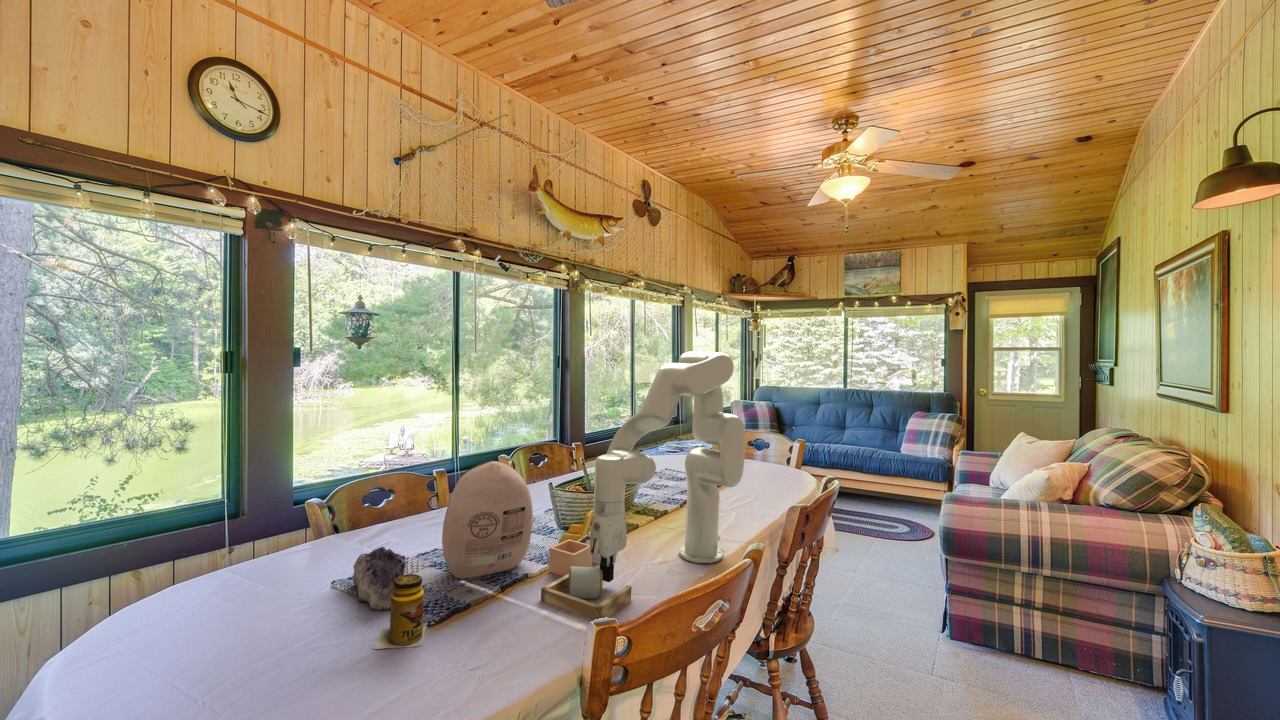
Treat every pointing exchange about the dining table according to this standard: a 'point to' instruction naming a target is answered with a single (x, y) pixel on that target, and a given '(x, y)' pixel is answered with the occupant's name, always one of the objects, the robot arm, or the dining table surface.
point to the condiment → (405, 614)
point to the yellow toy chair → (578, 529)
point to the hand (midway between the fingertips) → (606, 579)
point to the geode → (378, 577)
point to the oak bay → (583, 607)
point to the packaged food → (487, 521)
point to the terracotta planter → (569, 557)
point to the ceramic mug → (585, 582)
